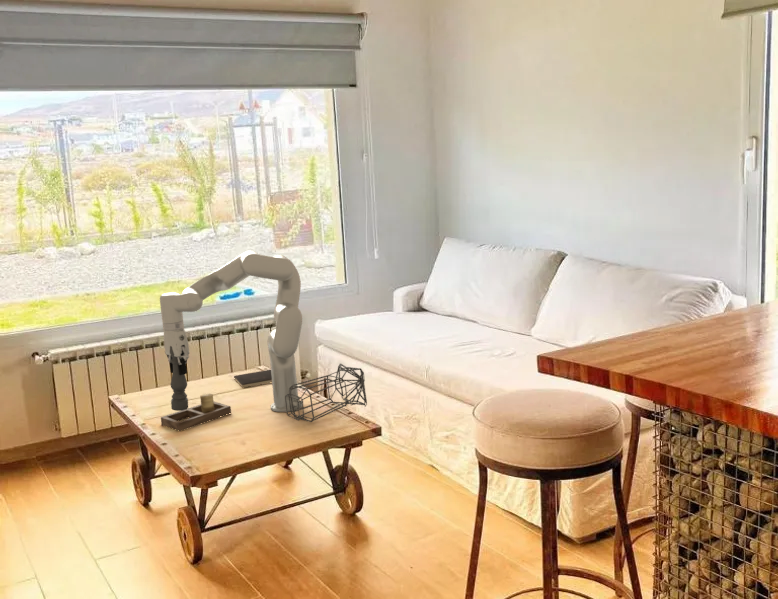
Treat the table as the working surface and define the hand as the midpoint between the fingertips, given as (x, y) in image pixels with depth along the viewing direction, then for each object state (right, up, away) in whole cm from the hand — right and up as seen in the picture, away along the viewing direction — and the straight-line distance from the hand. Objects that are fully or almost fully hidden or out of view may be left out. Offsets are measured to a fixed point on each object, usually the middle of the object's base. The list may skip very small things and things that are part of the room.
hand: (178, 372), depth 325 cm
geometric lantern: (+42, -12, -6) cm, 44 cm away
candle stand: (+5, -18, +8) cm, 21 cm away
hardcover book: (+24, -8, +56) cm, 62 cm away
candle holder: (0, -14, +4) cm, 14 cm away
